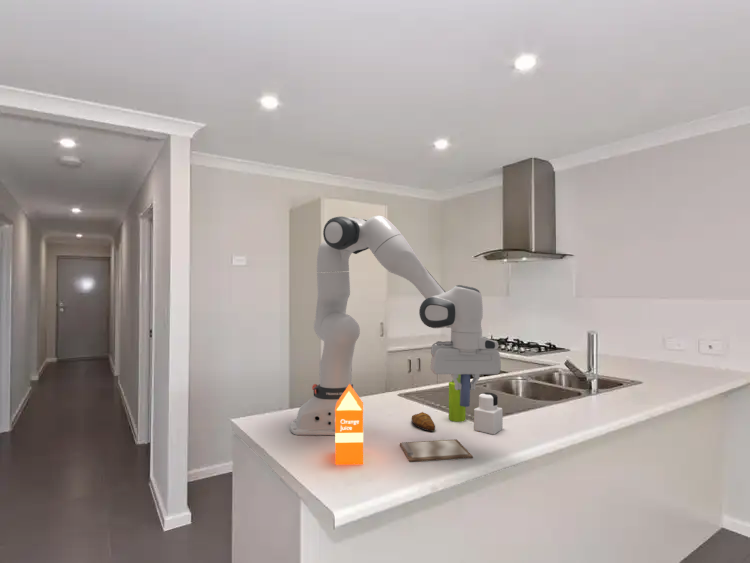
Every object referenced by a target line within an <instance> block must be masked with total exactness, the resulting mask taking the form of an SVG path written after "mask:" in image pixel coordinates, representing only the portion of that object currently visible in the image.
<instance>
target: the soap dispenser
mask: <svg viewBox="0 0 750 563" xmlns="http://www.w3.org/2000/svg"><path fill="white" fill-rule="evenodd" d="M456 379H457V381H458V383H460V379H461V374H458V378H456ZM451 380H452V381H449V382H448V420H449V421H450V422H454V423H462V422H465V421H466V408H467V407H463V406H460V390H456V389H455V383H454V381H453V379H452V378H451Z"/></svg>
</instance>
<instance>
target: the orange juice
mask: <svg viewBox="0 0 750 563" xmlns="http://www.w3.org/2000/svg"><path fill="white" fill-rule="evenodd" d="M334 436H335V437H334V439H335V440H334V442H335V445H334V446H335V447H334V448H335V453H334V454H335V457H334V458H335V462H334V463H335V465H336V466H340V465H341V466H345V465H347V466H349V465H353V466H355V465H364V402H363V400H362V399H361V398H360V396H359V395H358V393H357V392H356V390H355V389H354V387H353V388H352V386H351V385H350V384H349V385H348V387H347V388H346V390H345V391H344V393H343V394H342V396H341V397H340V399H339V400H338V401H337V403H336V408H335V435H334Z"/></svg>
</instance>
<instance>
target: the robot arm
mask: <svg viewBox="0 0 750 563" xmlns="http://www.w3.org/2000/svg"><path fill="white" fill-rule="evenodd" d="M322 235H323V239H324V241H322V242H321V243H320V244H319V246H318V250H317V257H316V281H317V284H316V286H317V300H316V301H317V302H316V309H315V319H314V322H313V329H314V332H315V335H316V336H317V337H318V338H319V339H320V340H321V341H323V349H322V355H321V359H319V384H316V383H314V384H313V385H312V386H311V388H312V391H313V396H312V397H311V398H310V399H308V401H306V402H305V403H303V404H302V405H301V406H300V408H299V409H298V411H297V415H296V419H294V420H293V421H291V423H290V426H289V430H290V432H291V433H292V434H293V435H297V436H298V435H299V436H301V435H305V436H307V435H309V436H315V435H316V436H335V408H336V403H337V401H338V400H339V399H340V397H341V396H342V394H343V393H344V391H345V390H346V388H347V387H348V385H349V384H350V385H351V386H352V388H353V389H354V384H353V382H352V380H353V375H352V374H353V373H352V372H353V356H354V352H355V348H356V342H357V341H358V339H359V336H360V334H361V331H360V330H361V329H360V325H359V322H357V321H356V320H355V319H354V318H353V316H351V315H349V314H347V307H348V301H349V298H350V296H351V285H350V284H351V283H350V264H349V261H350V256H351V255H352V254H354V255H358V254H359V253H361V252H364V251H367V250H370V251H371V253H372V254H373V256H374V257H375V259H376V260H377V261H378V263H380V264H381V266H382V267H383V268H384V269H386V270H387V272H390V273H391V274H394V275H397V276H398V277H401V278H403V279H406V280H407V281H409V282H410V283H411V284H412V285H414V286H415V288H416V289H417V290H418V291H419V292H420V293H421V295H422V296H423V298H424V300H423V301H422V303H421V304H420V306H419V313H418V314H419V318H420V321H421V323H423V324H424V325H425V326H426V327H429V328H430V329H431V328H432V329H444V328H450V341H448V340H446V341H436V342H434V343H433V344H432V345H431V348H430V350H431V351H430V354H431V361H430V370H431V372H432V373H433V374H434V375H450V377H451V380H452V379H453V381H454V383H455V389H456V390H461V389H462V388H461V387H462V384H460V383H458V381H457V379H456V378H458V374H471V376H472V380H471V381H470V391H475V390H476V384H477V383H478V381H480V380H479V379H480V375H499V373H500V372H501V370H502V369H501V368H502V365H501V355H500V352H499V350H498V349H499V343H498V341H496V340H493V339H491V338H488V337H486V336H483V329H482V319H483V314H484V313H483V312H484V310H483V298H482V294H481V291H480V290H479V289H478V288H475V287H473V286H468V285H462V284H461V285H460V284H457V285H455V286H453V287H452V288H451V289H450V290H447V291H446V290H445V289H443V287H442V286H441V285H440V284H439V282H437V280H436V279H435V277H434V276H433V275H432V274H431V272H429V271H428V270H427V268H426V267H425V266H424V264H423V262H422V261H421V260H420V258H419V257H418V255H417V254H416V253H415V251H414V250H413V248H412V246H411V245H410V244H409V242H408V240H407V239H406V238H405V236H404V235H403V234H402V232H400V229H398V228H397V227H396V225H394V224H393V223H392V222H391V221H390V219H388V218H387V217H385V216H383V215H379V214H377V215H373V216H371V217H370V218H368V219H367V220H366V219H362V218H359V217H355V216H353V217H352V216H350V217H349V216H348V217H346V216H335V217H332V218H330V219H328V221H326V223H325V225H324V227H323V231H322Z"/></svg>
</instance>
